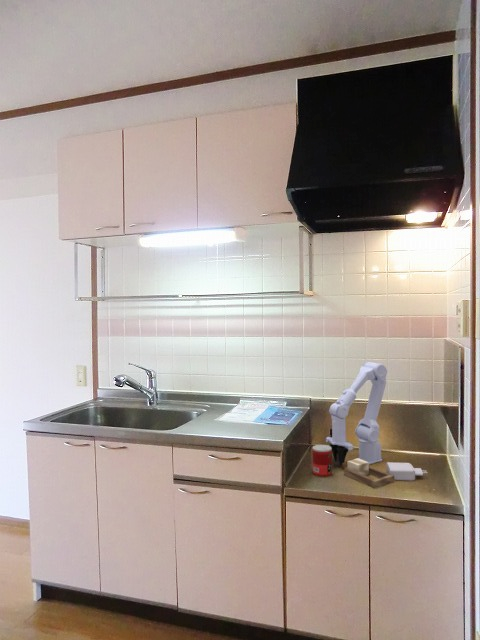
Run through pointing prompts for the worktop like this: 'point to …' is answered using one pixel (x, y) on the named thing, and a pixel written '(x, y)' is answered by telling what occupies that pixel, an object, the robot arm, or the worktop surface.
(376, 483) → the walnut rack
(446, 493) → the worktop surface
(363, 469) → the cream grey uneven dumbbell
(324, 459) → the canned food
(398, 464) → the charger
